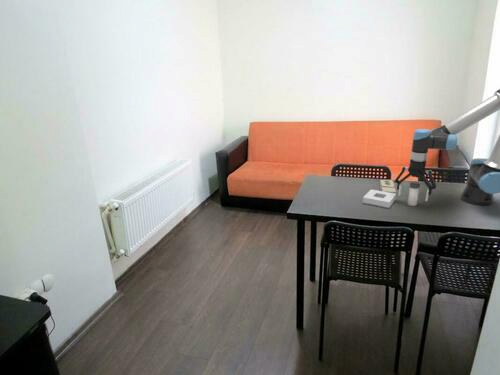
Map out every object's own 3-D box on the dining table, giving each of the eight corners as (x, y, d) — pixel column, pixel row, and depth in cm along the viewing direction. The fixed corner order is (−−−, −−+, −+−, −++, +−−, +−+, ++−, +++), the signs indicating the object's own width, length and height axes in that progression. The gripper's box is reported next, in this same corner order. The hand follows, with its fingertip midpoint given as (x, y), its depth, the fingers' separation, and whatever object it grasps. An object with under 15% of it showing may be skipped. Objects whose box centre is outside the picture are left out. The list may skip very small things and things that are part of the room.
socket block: (395, 199, 195) (396, 193, 193) (388, 208, 184) (389, 202, 183) (370, 195, 202) (370, 189, 201) (362, 203, 192) (363, 197, 190)
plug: (417, 203, 189) (420, 182, 185) (416, 206, 185) (419, 185, 181) (408, 201, 191) (411, 181, 187) (406, 204, 188) (409, 183, 184)
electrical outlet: (383, 189, 200) (380, 179, 216) (382, 196, 201) (379, 185, 217) (396, 190, 198) (392, 180, 214) (395, 197, 199) (391, 186, 216)
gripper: (446, 161, 176) (439, 200, 183) (394, 154, 189) (390, 191, 197) (444, 164, 170) (437, 204, 177) (391, 158, 183) (386, 195, 191)
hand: (412, 197), depth 187 cm, fingers open, 13 cm apart
